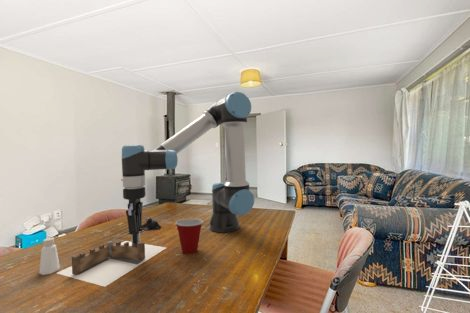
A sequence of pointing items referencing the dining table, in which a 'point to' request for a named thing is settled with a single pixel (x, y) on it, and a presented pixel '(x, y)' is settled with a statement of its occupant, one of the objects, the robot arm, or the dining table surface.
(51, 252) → the salt shaker
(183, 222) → the plastic cup
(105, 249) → the fence fixed
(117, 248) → the wooden notched wall
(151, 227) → the stuffed animal
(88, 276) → the card
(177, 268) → the dining table surface
